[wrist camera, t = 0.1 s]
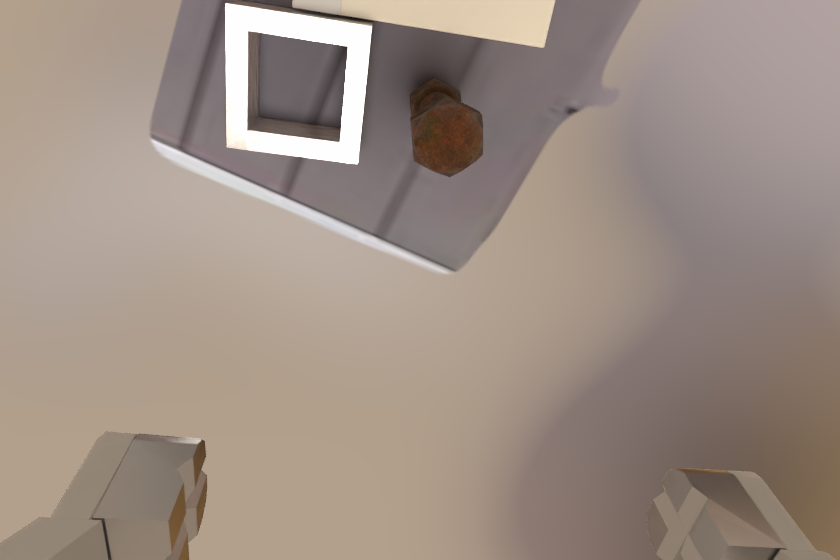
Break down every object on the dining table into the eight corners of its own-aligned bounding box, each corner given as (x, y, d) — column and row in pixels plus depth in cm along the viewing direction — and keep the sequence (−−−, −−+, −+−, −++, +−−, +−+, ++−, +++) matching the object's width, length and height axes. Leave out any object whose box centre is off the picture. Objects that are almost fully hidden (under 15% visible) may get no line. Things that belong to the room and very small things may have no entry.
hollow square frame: (239, 0, 48) (225, 3, 44) (372, 21, 50) (371, 26, 46) (239, 133, 54) (226, 147, 49) (359, 148, 55) (357, 164, 51)
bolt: (392, 109, 54) (396, 154, 41) (415, 58, 52) (427, 88, 38) (446, 135, 55) (467, 186, 42) (471, 86, 53) (500, 125, 40)
